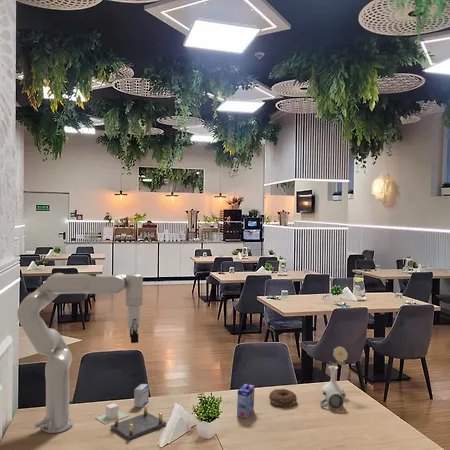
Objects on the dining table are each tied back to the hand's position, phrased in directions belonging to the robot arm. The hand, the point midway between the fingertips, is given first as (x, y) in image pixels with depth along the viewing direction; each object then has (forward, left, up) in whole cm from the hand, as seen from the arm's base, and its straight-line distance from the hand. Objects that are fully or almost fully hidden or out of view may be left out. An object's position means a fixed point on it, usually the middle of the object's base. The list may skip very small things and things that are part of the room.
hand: (134, 339), depth 197 cm
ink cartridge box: (+42, -30, -37) cm, 63 cm away
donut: (+65, -34, -37) cm, 82 cm away
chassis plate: (-2, -7, -36) cm, 37 cm away
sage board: (-5, +10, -37) cm, 39 cm away
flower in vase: (+94, -46, -37) cm, 111 cm away
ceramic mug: (+78, -54, -37) cm, 102 cm away
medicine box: (+13, +13, -37) cm, 41 cm away
